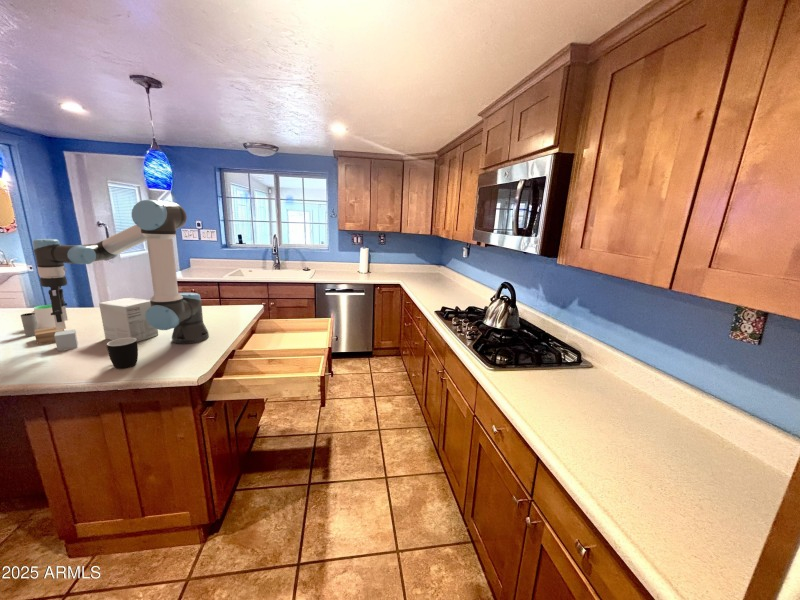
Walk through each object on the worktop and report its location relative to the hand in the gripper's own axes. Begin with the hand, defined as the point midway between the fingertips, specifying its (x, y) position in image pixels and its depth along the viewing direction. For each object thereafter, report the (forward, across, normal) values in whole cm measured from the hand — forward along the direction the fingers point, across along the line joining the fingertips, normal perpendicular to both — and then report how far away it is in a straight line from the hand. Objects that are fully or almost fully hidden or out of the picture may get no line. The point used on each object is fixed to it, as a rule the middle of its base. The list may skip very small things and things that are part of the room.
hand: (62, 324), depth 137 cm
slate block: (+11, 0, 0) cm, 11 cm away
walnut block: (+11, +16, +6) cm, 20 cm away
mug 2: (+11, +41, +10) cm, 43 cm away
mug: (+10, -35, -17) cm, 41 cm away
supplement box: (+10, 0, -22) cm, 25 cm away
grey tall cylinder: (+11, +29, +13) cm, 33 cm away
